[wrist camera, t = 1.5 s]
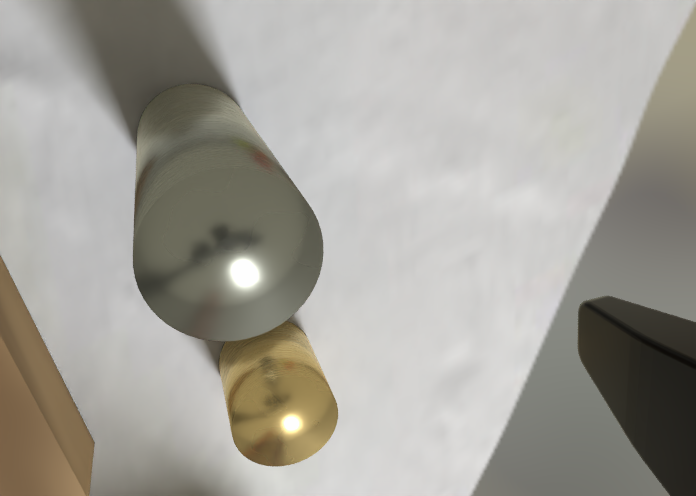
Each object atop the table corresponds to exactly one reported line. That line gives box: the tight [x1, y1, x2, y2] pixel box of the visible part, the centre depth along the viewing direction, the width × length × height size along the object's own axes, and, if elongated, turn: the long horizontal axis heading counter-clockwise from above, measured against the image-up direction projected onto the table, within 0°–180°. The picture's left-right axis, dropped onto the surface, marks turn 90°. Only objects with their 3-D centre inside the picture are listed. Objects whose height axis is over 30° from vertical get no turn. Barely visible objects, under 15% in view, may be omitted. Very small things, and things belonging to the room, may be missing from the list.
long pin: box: [133, 84, 323, 341], centre depth 17 cm, size 4×4×10 cm
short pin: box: [219, 321, 338, 466], centre depth 23 cm, size 4×4×4 cm
